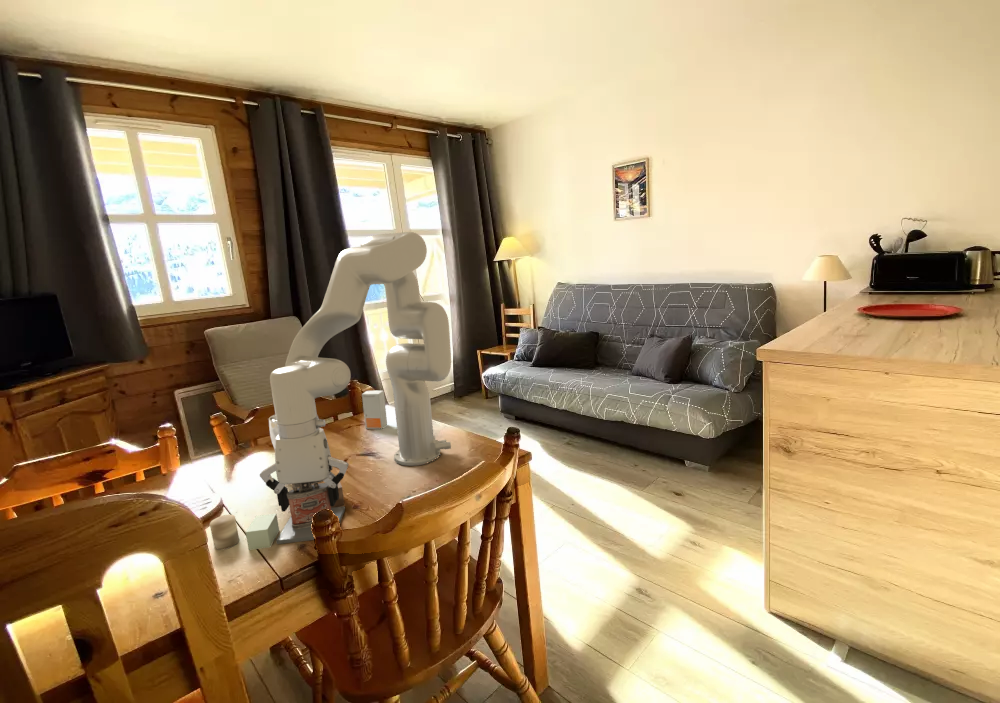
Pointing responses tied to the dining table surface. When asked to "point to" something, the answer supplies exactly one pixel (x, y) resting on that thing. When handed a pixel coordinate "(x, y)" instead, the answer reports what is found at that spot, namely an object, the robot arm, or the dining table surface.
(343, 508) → the coaster
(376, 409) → the skincare box
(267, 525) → the sage block
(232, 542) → the beech cylinder
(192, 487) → the dining table surface
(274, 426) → the beer glass
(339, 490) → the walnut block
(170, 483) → the dining table surface
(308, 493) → the lighter
